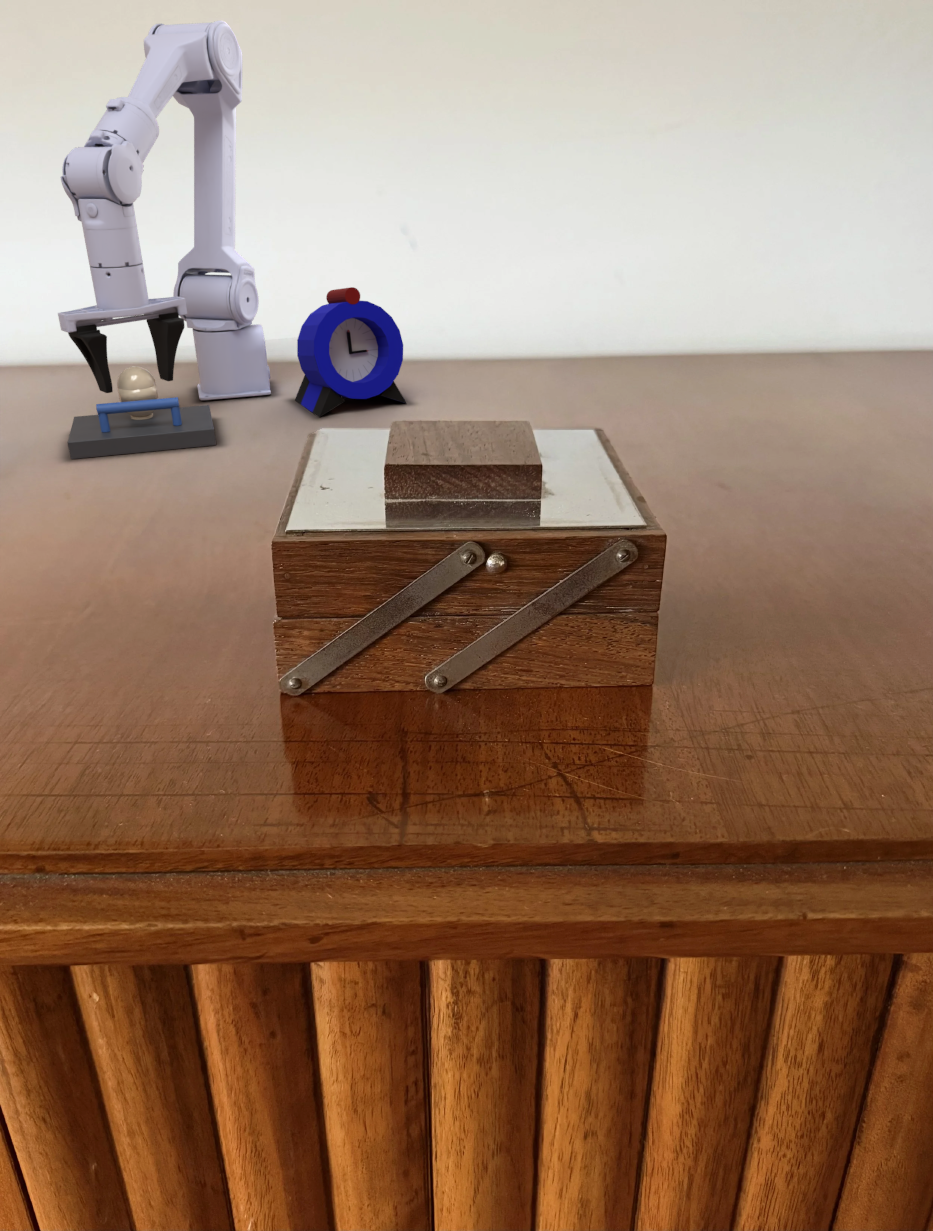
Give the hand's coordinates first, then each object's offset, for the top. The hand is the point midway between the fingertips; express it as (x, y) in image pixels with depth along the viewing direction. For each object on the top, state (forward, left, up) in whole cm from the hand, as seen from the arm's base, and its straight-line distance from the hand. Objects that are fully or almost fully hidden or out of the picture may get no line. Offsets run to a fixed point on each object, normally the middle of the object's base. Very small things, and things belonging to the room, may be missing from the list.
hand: (137, 385), depth 117 cm
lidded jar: (0, 0, -4) cm, 4 cm away
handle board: (0, +3, -6) cm, 6 cm away
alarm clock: (-26, -6, -6) cm, 27 cm away
